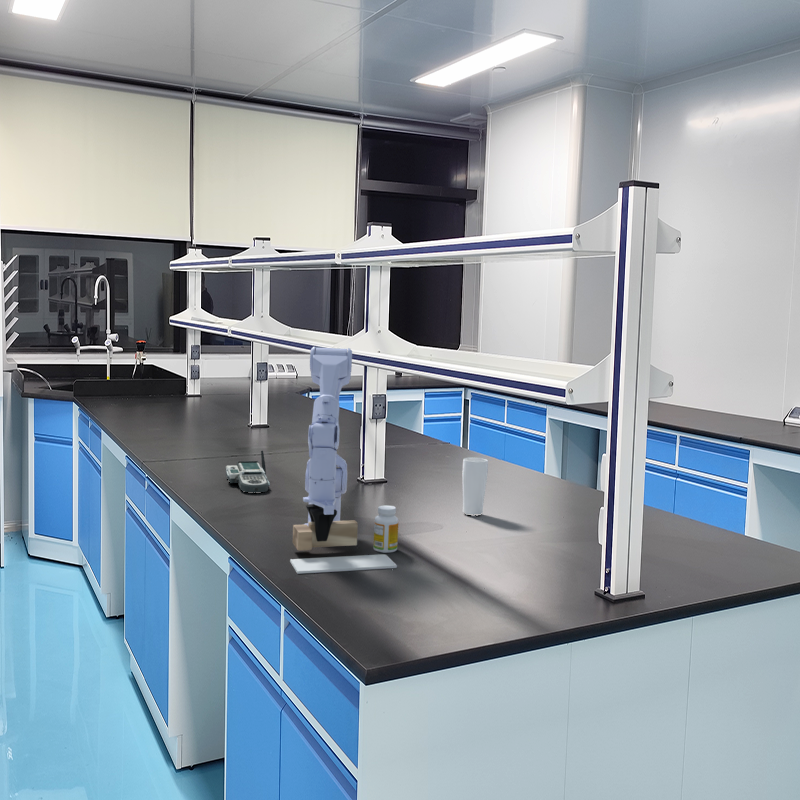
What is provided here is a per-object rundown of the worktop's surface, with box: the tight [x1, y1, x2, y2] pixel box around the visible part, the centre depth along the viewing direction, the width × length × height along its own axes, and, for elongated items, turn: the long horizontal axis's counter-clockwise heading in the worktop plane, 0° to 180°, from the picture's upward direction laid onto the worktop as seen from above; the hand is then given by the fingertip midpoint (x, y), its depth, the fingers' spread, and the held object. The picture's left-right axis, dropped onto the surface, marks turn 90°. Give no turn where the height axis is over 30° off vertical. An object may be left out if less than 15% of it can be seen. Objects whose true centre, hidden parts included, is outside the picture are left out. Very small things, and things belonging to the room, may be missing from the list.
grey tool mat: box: [289, 554, 398, 575], centre depth 169 cm, size 8×21×1 cm, turn 108°
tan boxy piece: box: [292, 519, 359, 551], centre depth 177 cm, size 6×14×5 cm, turn 108°
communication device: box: [225, 450, 271, 493], centre depth 241 cm, size 12×24×9 cm, turn 18°
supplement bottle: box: [373, 505, 399, 554], centre depth 181 cm, size 5×5×10 cm
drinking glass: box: [461, 456, 489, 515], centre depth 217 cm, size 7×7×15 cm
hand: (320, 538), depth 177 cm, fingers closed on tan boxy piece, 2 cm apart
